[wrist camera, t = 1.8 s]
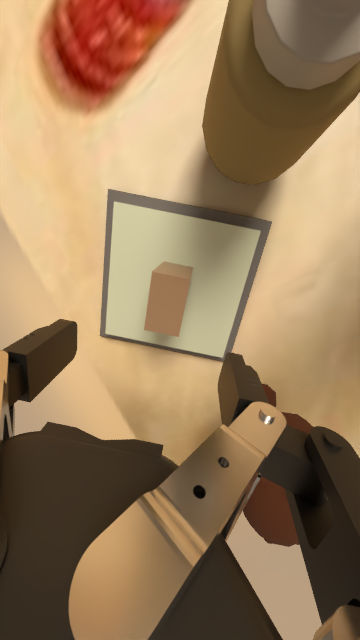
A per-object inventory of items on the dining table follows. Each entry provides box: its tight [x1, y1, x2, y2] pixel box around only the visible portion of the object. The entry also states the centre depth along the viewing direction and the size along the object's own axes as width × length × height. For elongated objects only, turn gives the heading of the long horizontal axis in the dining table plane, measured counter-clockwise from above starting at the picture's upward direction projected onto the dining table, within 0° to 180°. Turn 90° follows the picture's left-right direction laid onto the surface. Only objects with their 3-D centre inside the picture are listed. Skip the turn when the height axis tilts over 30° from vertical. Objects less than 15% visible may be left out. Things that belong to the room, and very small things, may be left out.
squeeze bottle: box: [202, 0, 360, 185], centre depth 11 cm, size 8×8×18 cm
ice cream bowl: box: [243, 384, 313, 546], centre depth 23 cm, size 11×11×15 cm
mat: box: [100, 189, 272, 361], centre depth 25 cm, size 16×16×1 cm
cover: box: [105, 201, 261, 358], centre depth 21 cm, size 14×14×7 cm
